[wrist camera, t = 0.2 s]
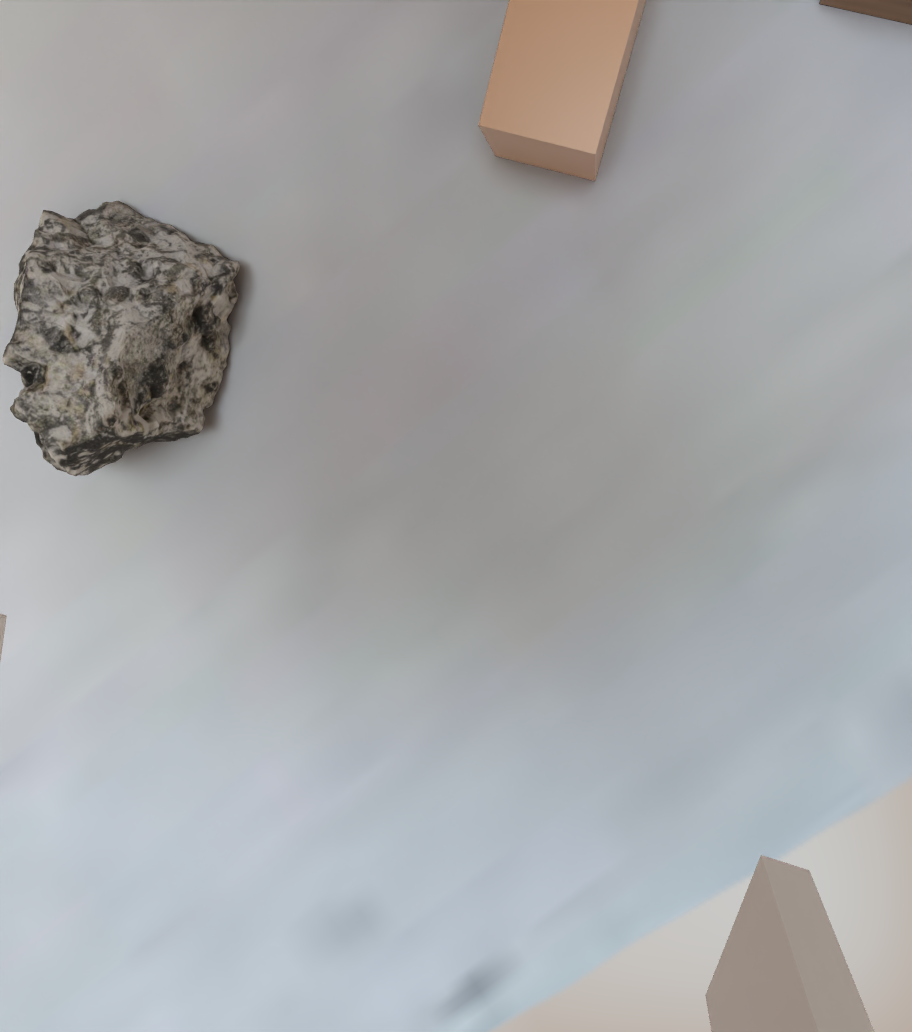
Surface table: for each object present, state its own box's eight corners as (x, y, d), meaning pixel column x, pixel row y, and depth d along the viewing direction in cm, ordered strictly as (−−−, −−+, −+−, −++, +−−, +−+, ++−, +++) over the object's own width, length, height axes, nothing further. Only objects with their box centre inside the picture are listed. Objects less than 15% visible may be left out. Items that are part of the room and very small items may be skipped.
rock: (238, 505, 45) (257, 441, 36) (31, 513, 41) (-8, 444, 32) (224, 276, 48) (237, 162, 39) (29, 266, 44) (-7, 139, 35)
